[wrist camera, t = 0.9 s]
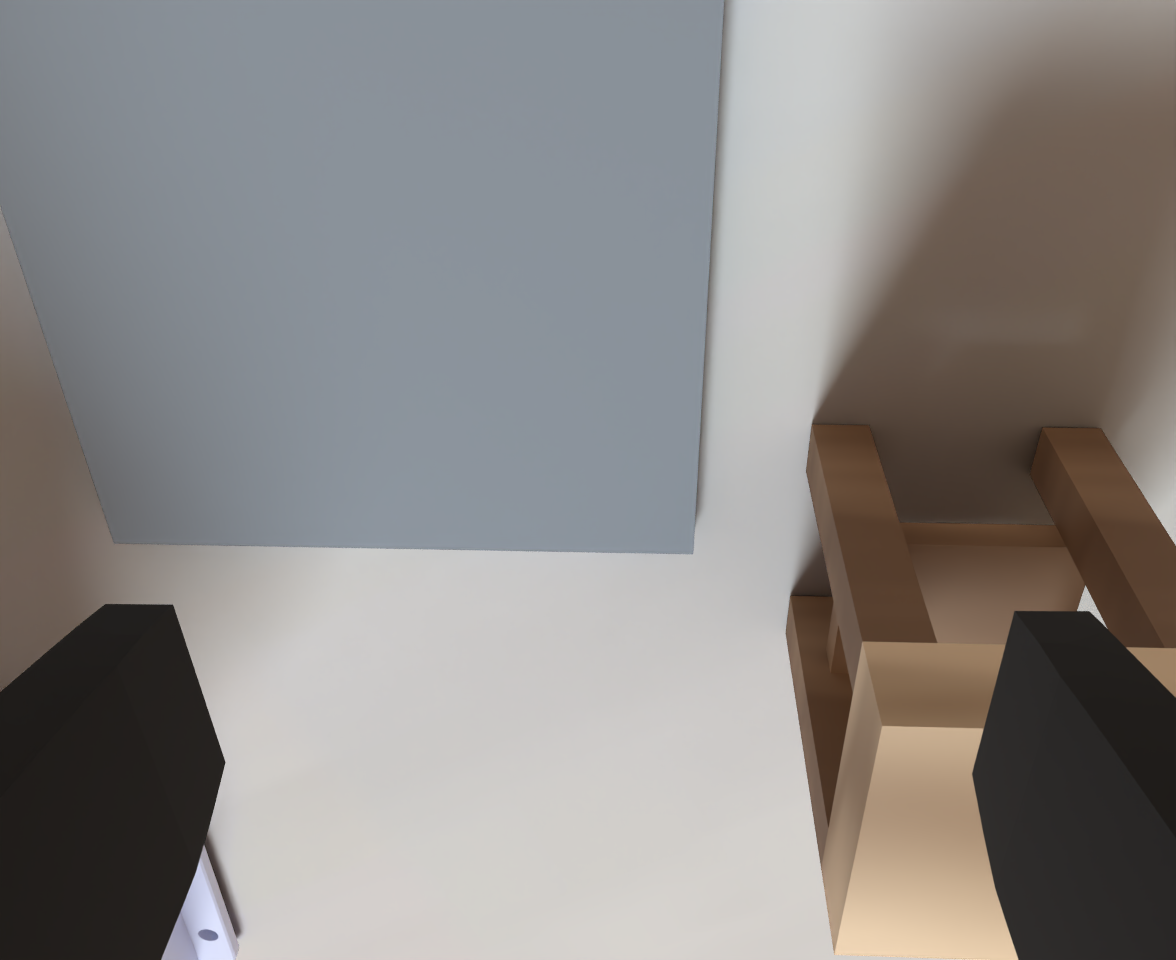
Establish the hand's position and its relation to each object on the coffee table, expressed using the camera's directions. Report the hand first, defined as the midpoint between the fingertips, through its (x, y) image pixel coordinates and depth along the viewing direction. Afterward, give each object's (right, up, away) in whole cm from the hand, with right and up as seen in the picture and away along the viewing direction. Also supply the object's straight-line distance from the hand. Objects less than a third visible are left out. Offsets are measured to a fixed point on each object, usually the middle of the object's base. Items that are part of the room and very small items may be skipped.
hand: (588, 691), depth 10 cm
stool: (+6, +1, +11) cm, 13 cm away
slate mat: (-4, +7, +7) cm, 10 cm away
